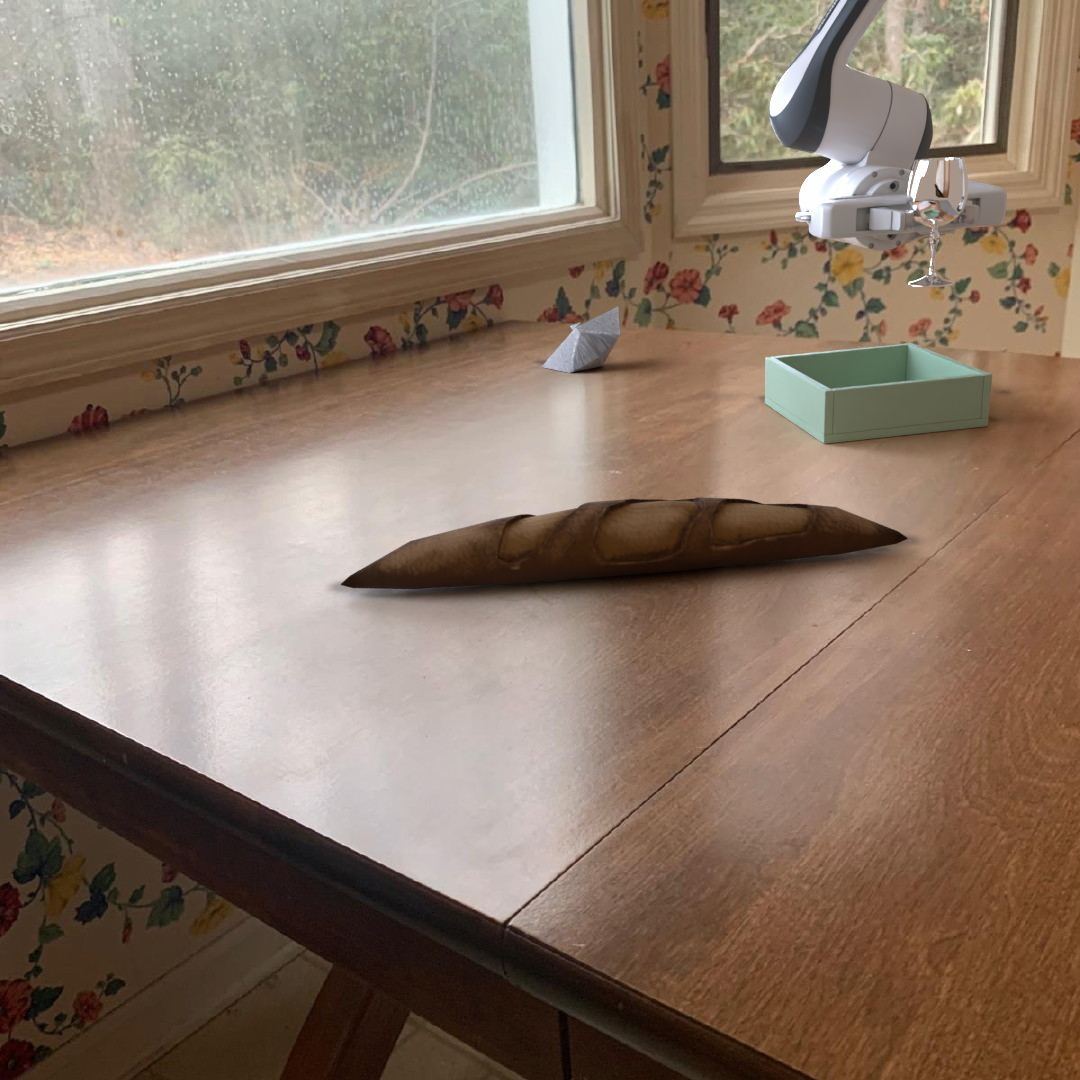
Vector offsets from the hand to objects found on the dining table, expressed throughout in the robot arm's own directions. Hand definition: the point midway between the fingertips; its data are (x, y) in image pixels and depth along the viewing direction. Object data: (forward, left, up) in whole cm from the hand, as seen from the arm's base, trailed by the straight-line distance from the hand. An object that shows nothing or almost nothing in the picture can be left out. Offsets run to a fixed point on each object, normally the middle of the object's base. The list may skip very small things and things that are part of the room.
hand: (940, 218), depth 108 cm
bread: (+41, +39, -17) cm, 59 cm away
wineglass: (0, -1, -7) cm, 7 cm away
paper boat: (+31, -26, -17) cm, 44 cm away
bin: (+10, +8, -17) cm, 21 cm away
